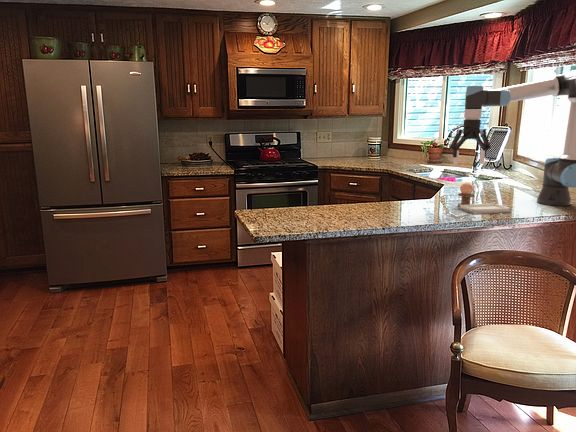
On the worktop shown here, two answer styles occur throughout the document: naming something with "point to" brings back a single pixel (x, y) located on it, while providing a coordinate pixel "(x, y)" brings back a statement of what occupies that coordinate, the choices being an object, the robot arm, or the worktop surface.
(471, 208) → the tray
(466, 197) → the pedestal
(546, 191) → the robot arm
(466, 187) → the ball
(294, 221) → the worktop surface
